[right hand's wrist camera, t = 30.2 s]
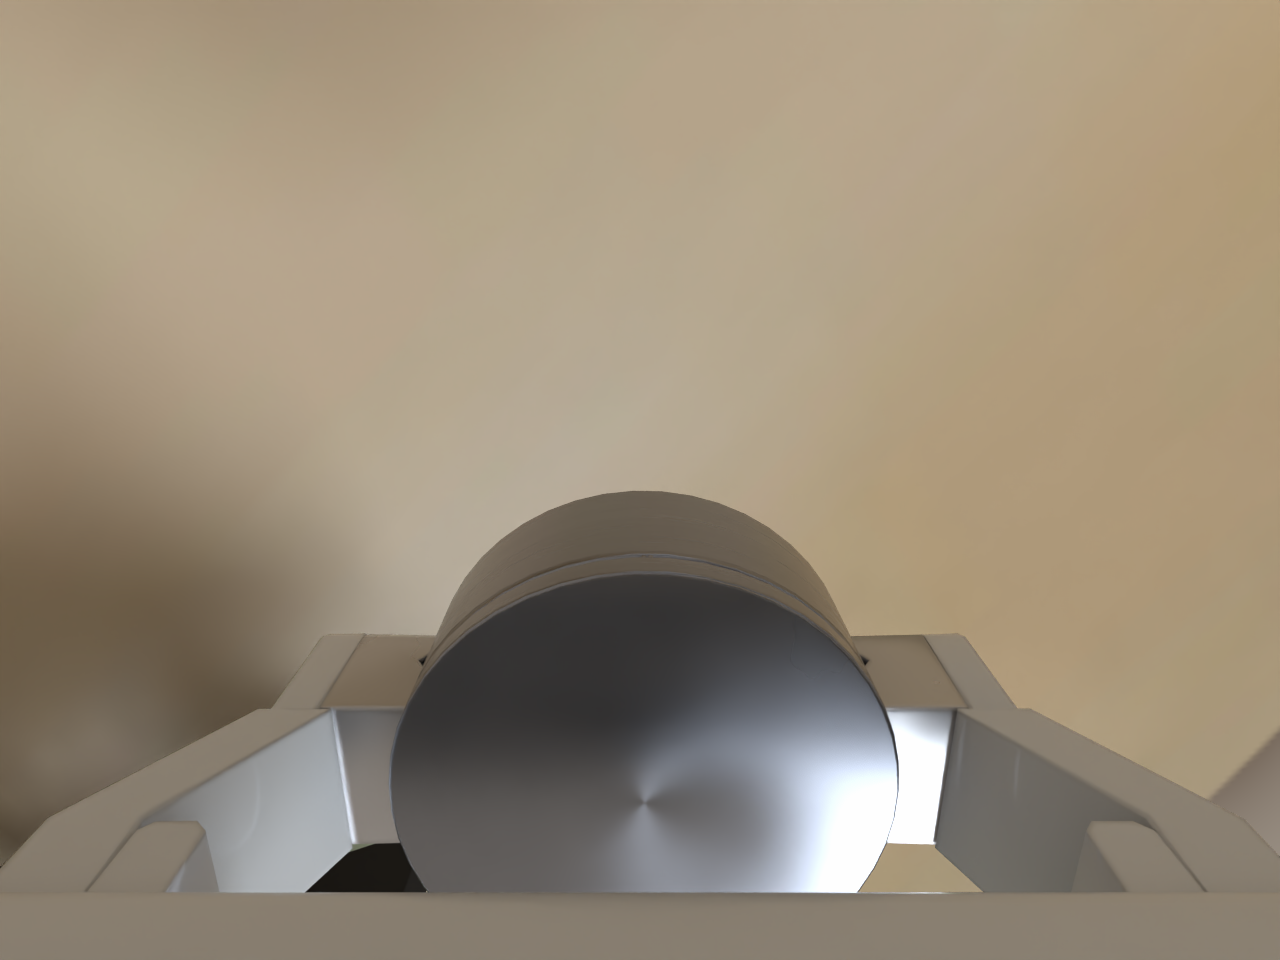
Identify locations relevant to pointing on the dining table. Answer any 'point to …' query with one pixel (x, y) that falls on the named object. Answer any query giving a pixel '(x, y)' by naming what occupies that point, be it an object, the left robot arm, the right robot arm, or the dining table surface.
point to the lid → (643, 715)
